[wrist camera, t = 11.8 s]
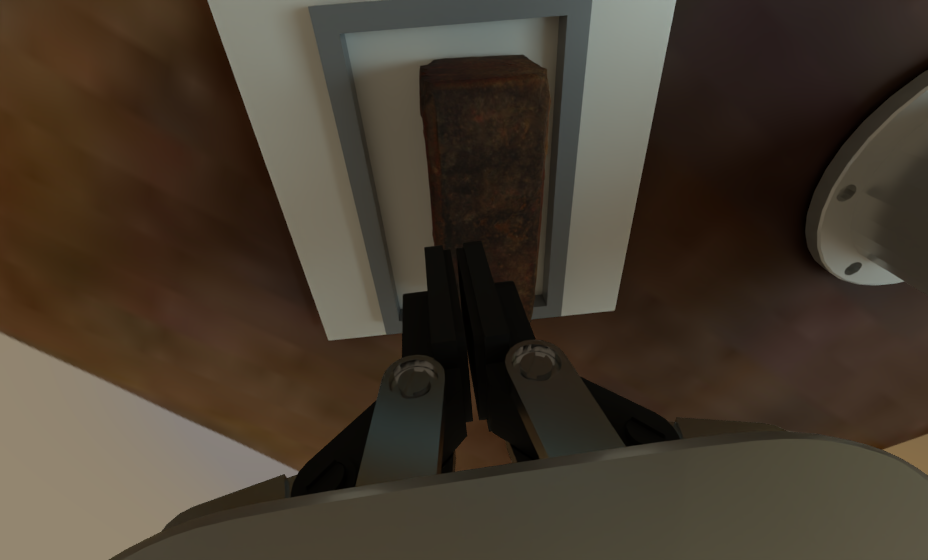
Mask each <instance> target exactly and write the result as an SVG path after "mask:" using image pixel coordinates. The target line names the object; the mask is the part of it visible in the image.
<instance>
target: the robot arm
mask: <svg viewBox="0 0 928 560" xmlns="http://www.w3.org/2000/svg"><path fill="white" fill-rule="evenodd" d="M805 235H806V241H807V247H808V249H809V251H810V253H811V255H812V257H813V259H814V260H815V261H816V262H817V263H818V264H819V265H821V266H822V267H823V268H824V269H825V270H827V271H828V272H830V273H831V274H833V275H834V276H836V277H837V278H839V279H841V280H843V281H847V282H850V283H854V284H858V285H874V286H875V285H885V284H894V283H899V282H904V281H905V282H906V283H908V284H910V285H911V286H913V287H914V288H916V289H918V290H919V291H921V292H923V293H924V294H926V295H928V70H927V71H925V72H923V73H922V74H920V75H919V76H917V77H916V78H915V79H913V80H912V81H911V82H909V83H908V84H907V85H905V86H904V87H903V88H901V89H900V90H899V91H897V92H896V93H895V94H893V95H892V96H891V97H889V98H888V99H887V100H886V101H885V102H884V103H883V104H882V105H881V106H880V107H879V108H877V109H876V110H875V111H874V112H873V113H872V114H871V115H870V116H869V117H868V118H867V119H866V120H864V121H863V123H862V124H861V125H860V126H859V127H858V128H857V129H856V130H855V132H854V133H853V134H852V135H851V136H850V137H849V138H848V140H847V141H846V142H845V143H844V144H843V145H842V147H841V148H840V150H839V151H838V152H837V154H836V155H835V157H834V158H833V160H832V161H831V162H830V164H829V165H828V167H827V168H826V170H825V172H824V174H823V176H822V178H821V180H820V181H819V183H818V185H817V187H816V189H815V191H814V194H813V197H812V200H811V203H810V206H809V209H808V212H807V219H806V228H805ZM424 252H425V265H426V279H427V291H422V292H414V293H406V294H403V310H402V358H401V359H399V360H397V361H396V362H394V363H393V364H391V365H390V366H389V368H388V369H387V370H386V371H385V373H384V375H383V377H382V381H381V385H380V389H379V393H378V397H377V400H376V401H375V402H374V403H373V404H372V405H371V406H370V407H368V408H367V409H366V410H365V411H364V412H363V413H362V414H361V415H360V416H358V417H357V418H356V419H355V420H354V421H353V422H352V423H351V424H350V425H348V426H347V427H346V428H345V429H344V430H343V431H342V432H341V433H340V434H338V435H337V436H336V437H335V438H334V439H333V440H332V441H331V442H330V443H328V444H327V445H326V446H325V447H324V448H323V449H322V450H321V451H320V452H318V453H317V454H316V455H315V456H314V457H313V458H312V459H311V460H309V461H308V462H307V463H306V464H305V466H304V467H303V468H302V469H301V470H300V471H299V473H298V474H297V475H295V476H292V477H289V478H286V476H285V474H283V475H280V476H278V477H275V478H272V479H269V480H267V481H264V482H261V483H258V484H255V485H253V486H250V487H247V488H244V489H242V490H239V491H236V492H233V493H230V494H228V495H225V496H222V497H219V498H217V499H214V500H211V501H208V502H205V503H202V504H200V505H197V506H194V507H192V508H190V509H188V510H186V511H184V512H182V513H180V514H179V515H177V516H176V517H175V518H174V519H173V520H172V521H171V522H169V523H168V524H167V525H166V526H165V528H164V529H163V530H162V532H160V533H158V534H156V535H154V536H152V537H150V538H147V539H145V540H143V541H142V542H140V543H138V544H136V545H134V546H132V547H130V548H128V549H126V550H124V551H123V552H121V553H119V554H117V555H116V556H114V557H112V558H111V559H109V560H928V475H926V474H925V473H924V472H922V471H921V470H919V469H918V468H916V467H915V466H913V465H911V464H910V463H908V462H906V461H905V460H903V459H901V458H899V457H897V456H895V455H893V454H891V453H888V452H886V451H884V450H881V449H878V448H875V447H872V446H869V445H866V444H862V443H858V442H855V441H851V440H846V439H841V438H836V437H831V436H826V435H820V434H813V433H801V432H789V431H786V430H784V429H782V428H780V427H777V426H775V425H770V424H766V423H756V422H741V421H726V420H711V419H695V418H680V417H676V420H675V422H669V421H667V420H666V419H664V418H663V417H661V416H660V415H658V414H656V413H655V412H653V411H651V410H648V409H646V408H644V407H642V406H640V405H638V404H636V403H634V402H632V401H630V400H628V399H626V398H624V397H621V396H619V395H617V394H615V393H613V392H611V391H609V390H607V389H605V388H603V387H601V386H599V385H596V384H594V383H592V382H590V381H588V380H586V379H584V378H582V377H580V376H579V374H578V373H577V371H576V370H575V368H574V367H573V365H572V364H571V362H570V361H569V359H568V358H567V356H566V355H565V354H564V352H563V351H562V350H561V349H560V348H559V347H557V346H555V345H554V344H552V343H549V342H546V341H543V340H535V337H534V334H533V332H532V329H531V326H530V323H529V321H528V318H527V315H526V313H525V310H524V307H523V305H522V302H521V299H520V297H519V294H518V291H517V288H516V286H515V283H514V282H513V281H505V282H496V283H494V281H493V277H492V274H491V271H490V268H489V264H488V261H487V258H486V254H485V251H484V248H483V244H482V241H473V242H465V243H463V248H456V255H457V266H458V278H459V289H460V300H461V307H460V301H459V295H458V290H457V284H456V278H455V273H454V267H453V261H452V255H451V250H450V249H447V250H443V245H439V246H430V247H424ZM461 312H462V313H461ZM467 352H468V356H467ZM468 358H469V364H470V370H471V376H472V382H473V387H474V393H475V399H476V405H477V411H478V416H479V420H485V419H487V423H488V429H489V432H490V431H492V432H493V433H494V434H496V435H498V436H499V437H501V438H502V439H504V440H506V447H507V451H508V453H509V456H510V458H511V461H512V463H511V464H505V465H498V466H491V467H484V468H478V469H471V470H464V471H458V472H455V464H456V455H455V449H456V448H457V447H458V446H459V445H460V443H461V442H462V441H463V440H464V439H465V437H466V436H467V430H466V422H471V421H473V415H472V404H471V392H470V380H469V368H468Z"/></svg>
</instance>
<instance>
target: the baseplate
mask: <svg viewBox="0 0 928 560" xmlns="http://www.w3.org/2000/svg"><path fill="white" fill-rule="evenodd" d="M207 1H208V4H209V6H210V9H211V12H212V15H213V18H214V20H215V23H216V26H217V29H218V32H219V34H220V37H221V40H222V43H223V46H224V48H225V51H226V54H227V57H228V60H229V63H230V65H231V68H232V71H233V74H234V77H235V79H236V82H237V85H238V88H239V91H240V93H241V96H242V99H243V102H244V105H245V107H246V110H247V113H248V116H249V119H250V122H251V124H252V127H253V130H254V133H255V136H256V138H257V141H258V144H259V147H260V150H261V152H262V155H263V158H264V161H265V164H266V166H267V169H268V172H269V175H270V178H271V181H272V183H273V186H274V189H275V192H276V195H277V197H278V200H279V203H280V206H281V209H282V211H283V214H284V217H285V220H286V223H287V225H288V228H289V231H290V234H291V237H292V239H293V242H294V245H295V248H296V251H297V254H298V256H299V259H300V262H301V265H302V268H303V270H304V273H305V276H306V279H307V282H308V284H309V287H310V290H311V293H312V296H313V298H314V301H315V304H316V307H317V310H318V313H319V315H320V318H321V321H322V324H323V327H324V329H325V332H326V335H327V338H328V341H329V340H339V339H348V338H358V337H367V336H377V335H387V334H397V333H402V310H403V294H406V293H414V292H422V291H427V279H426V265H425V252H424V247H430V246H434V241H433V236H432V230H433V227H432V215H431V201H430V189H429V180H428V167H427V158H426V148H425V139H424V134H423V130H424V129H423V121H422V117H421V116H420V96H419V90H420V88H419V71H420V66H422V65H428V64H429V63H431V61H433V60H436V59H444V58H461V57H483V56H499V55H525V56H526V57H528V58H529V60H531V61H533V62H535V63H536V64H538V65H540V66H541V67H543V68H546V69H547V78H548V82H549V90H550V96H551V106H550V113H549V128H548V154H547V155H546V161H545V180H544V196H543V207H542V221H541V233H540V244H539V255H538V267H537V280H536V287H535V300H534V306H533V314H532V319H540V318H549V317H559V316H567V315H577V314H586V313H596V312H605V311H615V307H616V302H617V297H618V291H619V286H620V281H621V276H622V271H623V266H624V261H625V256H626V251H627V246H628V241H629V236H630V231H631V226H632V221H633V216H634V211H635V206H636V201H637V196H638V190H639V185H640V180H641V175H642V170H643V165H644V160H645V155H646V150H647V145H648V140H649V135H650V130H651V125H652V120H653V115H654V110H655V105H656V100H657V95H658V90H659V84H660V79H661V74H662V69H663V64H664V59H665V54H666V49H667V44H668V39H669V34H670V29H671V24H672V19H673V14H674V9H675V4H676V0H207Z"/></svg>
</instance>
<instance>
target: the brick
mask: <svg viewBox="0 0 928 560" xmlns="http://www.w3.org/2000/svg"><path fill="white" fill-rule="evenodd" d="M419 88H420V90H419V96H420V116H421V117H422V121H423V129H424V130H423V134H424V139H425V148H426V158H427V167H428V180H429V189H430V201H431V215H432V227H433V230H432V236H433V241H434V246H439V245H443V250H447V249H450V250H451V255H452V261H453V267H454V273H455V278H456V284H457V290H458V295H459V301H460V307H461V300H460V289H459V278H458V266H457V255H456V248H463V243H465V242H473V241H482V244H483V248H484V251H485V254H486V258H487V261H488V264H489V268H490V271H491V274H492V277H493V281H494V283H496V282H505V281H513V282H514V283H515V286H516V288H517V291H518V294H519V297H520V299H521V302H522V305H523V307H524V310H525V313H526V315H527V318H528V321H529V323H530V322H531V319H532V314H533V306H534V300H535V287H536V280H537V267H538V255H539V244H540V233H541V221H542V207H543V196H544V180H545V161H546V155H547V154H548V128H549V113H550V106H551V96H550V90H549V82H548V78H547V69H546V68H543V67H541V66H540V65H538V64H536V63H535V62H533V61H531V60H529V58H528V57H526V56H525V55H499V56H483V57H461V58H444V59H436V60H433V61H431V63H429V64H428V65H422V66H420V71H419ZM461 313H462V312H461Z"/></svg>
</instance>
